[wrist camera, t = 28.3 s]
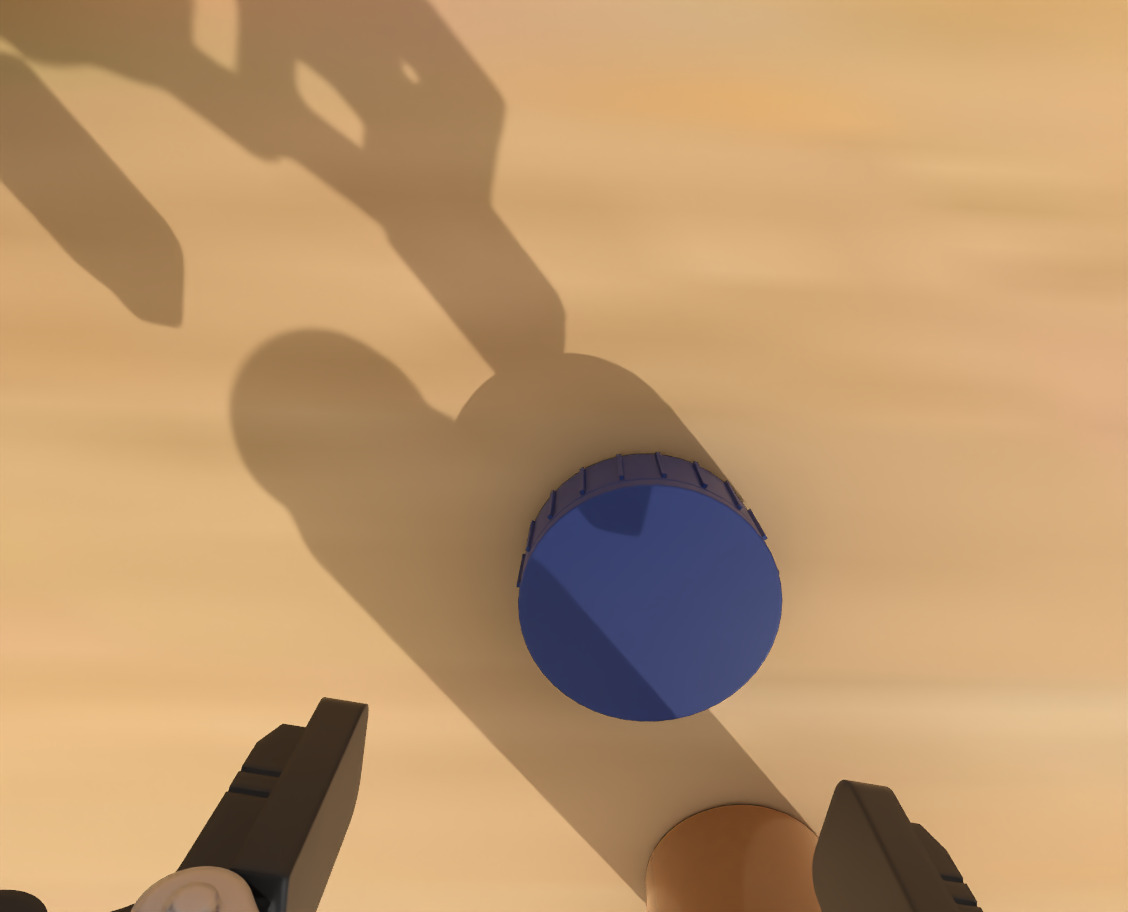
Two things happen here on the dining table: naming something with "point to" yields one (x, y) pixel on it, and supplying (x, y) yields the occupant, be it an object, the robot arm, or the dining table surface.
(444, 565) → the dining table surface
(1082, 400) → the dining table surface
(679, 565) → the lid
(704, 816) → the jar
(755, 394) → the dining table surface
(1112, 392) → the dining table surface
